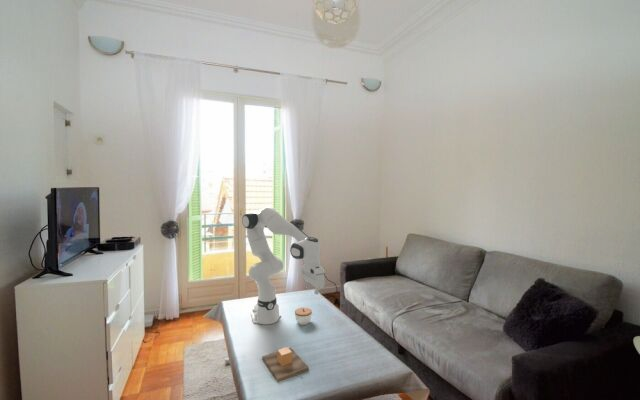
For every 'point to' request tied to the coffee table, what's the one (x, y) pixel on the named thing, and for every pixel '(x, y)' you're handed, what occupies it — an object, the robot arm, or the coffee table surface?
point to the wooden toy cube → (284, 356)
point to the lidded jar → (303, 315)
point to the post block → (286, 370)
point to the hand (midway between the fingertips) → (312, 291)
